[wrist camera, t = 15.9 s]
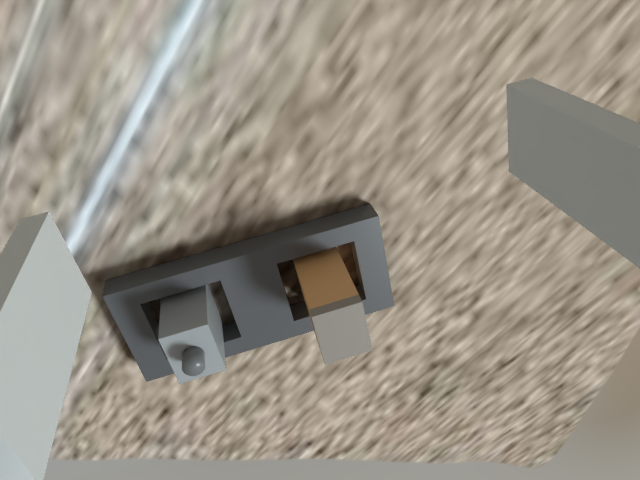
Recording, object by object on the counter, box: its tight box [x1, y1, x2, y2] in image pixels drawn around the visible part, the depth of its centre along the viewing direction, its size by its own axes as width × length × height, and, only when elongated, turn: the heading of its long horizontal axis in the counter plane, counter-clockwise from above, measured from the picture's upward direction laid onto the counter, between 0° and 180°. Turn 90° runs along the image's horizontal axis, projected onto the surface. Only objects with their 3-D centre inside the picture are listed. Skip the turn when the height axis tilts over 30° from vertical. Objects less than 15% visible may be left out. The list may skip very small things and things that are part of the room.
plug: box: [293, 247, 372, 365], centre depth 47 cm, size 4×5×10 cm
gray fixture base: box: [102, 204, 394, 384], centre depth 48 cm, size 24×10×8 cm, turn 102°
